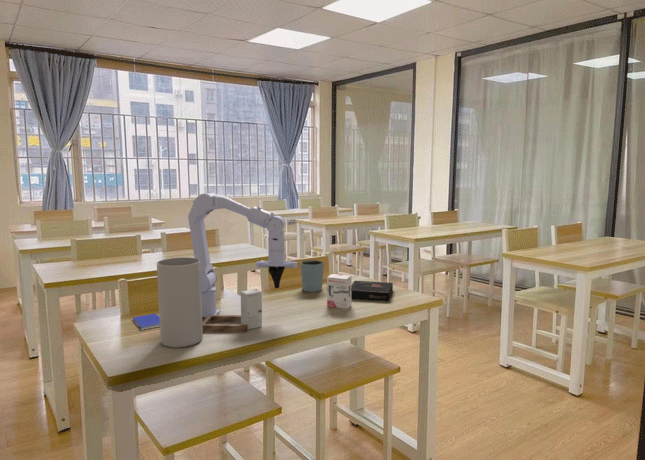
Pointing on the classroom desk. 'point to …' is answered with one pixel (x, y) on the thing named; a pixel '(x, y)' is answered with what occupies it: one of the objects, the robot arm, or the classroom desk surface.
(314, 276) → the teal cup
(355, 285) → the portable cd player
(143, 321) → the hard drive
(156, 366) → the classroom desk surface
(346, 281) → the ink box
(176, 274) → the cylinder vase
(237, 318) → the u rest
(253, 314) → the skincare box
